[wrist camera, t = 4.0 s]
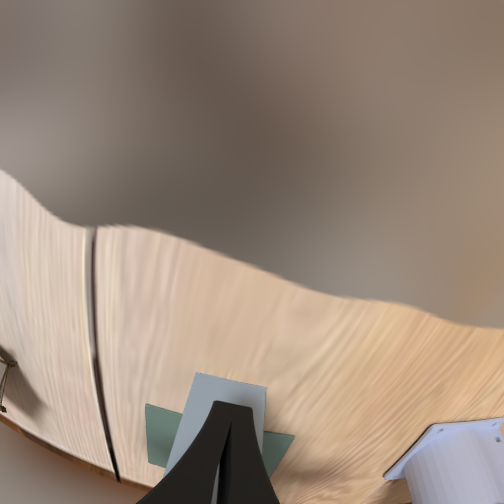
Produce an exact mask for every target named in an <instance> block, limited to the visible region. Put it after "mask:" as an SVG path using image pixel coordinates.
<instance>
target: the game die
mask: <svg viewBox="0 0 504 504" xmlns="http://www.w3.org/2000/svg"><path fill="white" fill-rule="evenodd" d="M16 363H17V362H15V361H13V360H12V361H10V362H8V363H7V362H6V361H5V360H4V359H3V358H2V357H1V355H0V411H2V412H6V413H7V411H6V408H5V407H4V406H2V405H1V404H2V398H3V392H4V387H5V382H6V377H7V372H8V368H9V366H10V367H13V366H14V367H15V365H16Z"/></svg>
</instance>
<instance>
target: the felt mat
mask: <svg viewBox="0 0 504 504" xmlns="http://www.w3.org/2000/svg"><path fill="white" fill-rule="evenodd" d="M145 414H146V434H147V449H148V462H149V463H151V464H154V465H158V466H161V467H164V468H166V466H167V463H168V460H169V457H170V453H171V450H172V447H173V444H174V441H175V437H176V434H177V431H178V428H179V425H180V421H181V418H182V415H183V414H179V413H176V412H172V411H169V410H165V409H162V408H158V407H155V406H152V405H149V404H146V405H145ZM293 439H294V436H293V435H285V434H278V433H271V432H264V431H263V444H262V459H263V463H264V466H265V469H266V472H267V474H268V477H269V478H270V476H271V475H272V473H273V472H274V470H275V469H276V467H277V466H278V464H279V462H280V461H281V459H282V458H283V456H284V454H285V453H286V451H287V449H288V448H289V446H290V444H291V443H292V441H293Z"/></svg>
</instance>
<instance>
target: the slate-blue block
mask: <svg viewBox="0 0 504 504" xmlns="http://www.w3.org/2000/svg"><path fill="white" fill-rule="evenodd" d="M265 397H266V387H262V386H257V385H251V384H246V383H242V382H237V381H232V380H227V379H223V378H219V377H214V376H210V375H206V374H202V373H198V372H196V374H195V377H194V381H193V384H192V387H191V390H190V393H189V396H188V399H187V402H186V406H185V409H184V412H183V415H182V418H181V421H180V425H179V428H178V431H177V434H176V437H175V441H174V444H173V447H172V450H171V453H170V457H169V460H168V463H167V466H166V470H165V473H164V476H163V478H164V477H165V476H166V475H167V474H168V473H169V471H170V470H171V469H172V468H173V467H174V466H175V465H176V463H177V462H178V461H179V460H180V458H181V457H182V456H183V454H184V453H185V452H186V450H187V449H188V448H189V446H190V445H191V444H192V442H193V440H194V439H195V437H196V436H197V434H198V433H199V431H200V430H201V428H202V426H203V424H204V422H205V421H206V419H207V416H208V414H209V412H210V410H211V407H212V404H213V401H216V400H219V401H223V402H228V403H233V404H237V405H242V406H247V407H251V408H252V409H253V418H254V425H255V431H256V436H257V441H258V445H259V449H260V452H261V456H262V444H263V429H264V413H265ZM219 463H220V462H219ZM218 475H219V466H218V469H217V473H216V478H215V484H214V490H213V496H212V502H211V504H216V500H217V488H218Z"/></svg>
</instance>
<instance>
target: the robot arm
mask: <svg viewBox="0 0 504 504" xmlns="http://www.w3.org/2000/svg"><path fill="white" fill-rule="evenodd" d="M503 423H504V418H503V417H501V418H494V419H486V420H477V421H468V422H456V423H441V424H434V425H432V426H431V427H429V429H428V430H427V431H426V432H425V433H424V434H423V436H422V437H421V438H420V439H419V440H418V441H417V442H416V443H415V444H414V446H413V447H412V448H411V449H410V450H409V451H408V452H407V453H406V454H405V455H404V456H403V457H402V458H401V459H400V460H399V461H398V462H397V463H396V464H395V465H394V466H393V467H392V468H391V469H390V470H389V471H388V472H387V473H386V474H385V475H384V479H385V480H392V479H403V478H406V480H407V484H408V488H409V492H410V496H411V501H412V504H504V436H503V434H502V432H501V430H500V428H499V427H500V426H501V425H502V424H503ZM219 462H220V463H219ZM218 466H219V475H218V488H217V500H216V504H280V503H279V500H278V498H277V496H276V494H275V492H274V490H273V487H272V485H271V482H270V480H269V477H268V474H267V472H266V469H265V466H264V463H263V459H262V456H261V452H260V449H259V445H258V441H257V436H256V431H255V425H254V418H253V409H252V408H251V407H247V406H242V405H237V404H233V403H228V402H223V401H219V400H216V401H213V404H212V407H211V410H210V412H209V414H208V416H207V419H206V421H205V422H204V424H203V426H202V428H201V430H200V431H199V433H198V434H197V436H196V437H195V439H194V440H193V442H192V444H191V445H190V446H189V448H188V449H187V450H186V452H185V453H184V454H183V456H182V457H181V458H180V460H179V461H178V462H177V463H176V465H175V466H174V467H173V468H172V469H171V470H170V471H169V473H168V474H167V475H166V476H165V477H164V478H163V479H162V480H161V481H160V482H159V483H158V484H157V485H156V486H155V487H154V488H153V489H152V490H151V491H150V492H149V493H148V494H146V495H145V496H144V497H143V498H142V499H141V500H140V501H138V502H137V503H136V504H211V502H212V496H213V490H214V484H215V478H216V473H217V469H218Z"/></svg>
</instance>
